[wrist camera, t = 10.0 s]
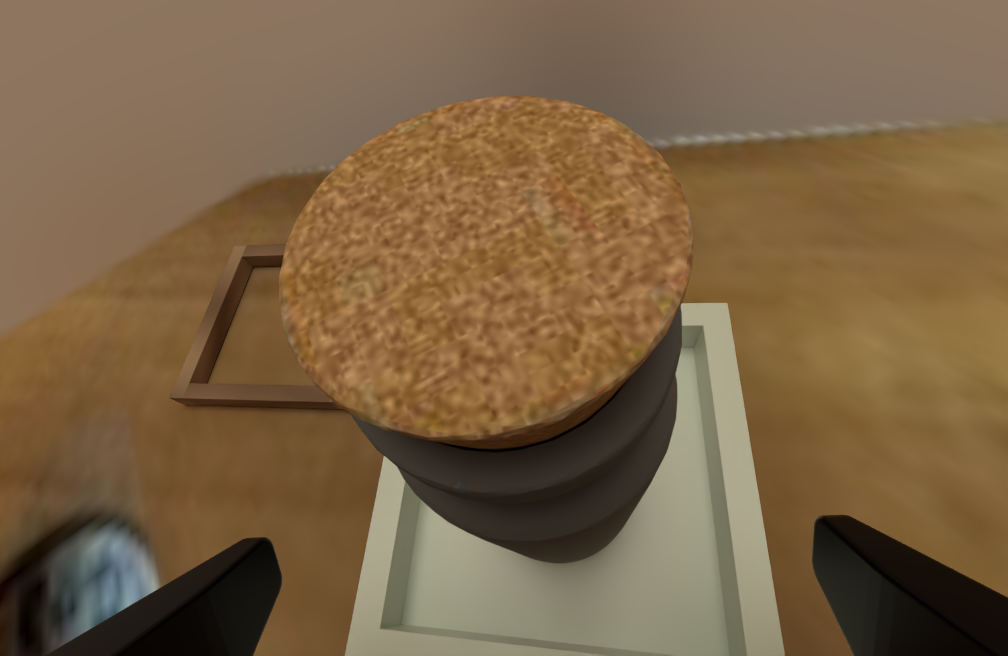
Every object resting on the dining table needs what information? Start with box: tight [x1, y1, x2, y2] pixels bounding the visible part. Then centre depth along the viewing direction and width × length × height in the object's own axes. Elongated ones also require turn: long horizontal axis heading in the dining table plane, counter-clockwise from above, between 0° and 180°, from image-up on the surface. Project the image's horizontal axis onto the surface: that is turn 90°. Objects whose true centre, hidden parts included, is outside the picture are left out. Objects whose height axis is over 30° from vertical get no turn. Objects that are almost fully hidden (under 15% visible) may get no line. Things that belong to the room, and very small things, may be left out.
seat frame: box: [169, 244, 344, 410], centre depth 24 cm, size 9×9×1 cm
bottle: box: [279, 96, 693, 563], centre depth 12 cm, size 6×6×15 cm
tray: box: [345, 303, 785, 656], centre depth 18 cm, size 13×13×2 cm
